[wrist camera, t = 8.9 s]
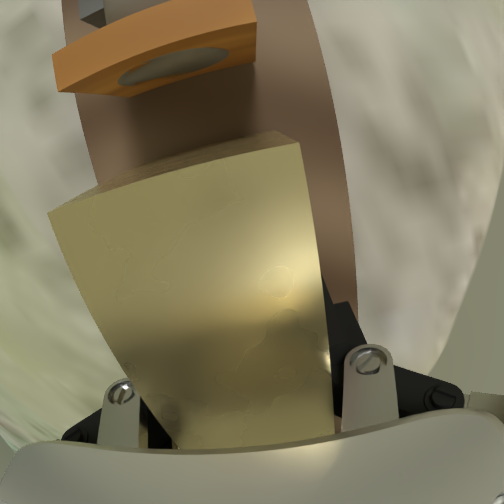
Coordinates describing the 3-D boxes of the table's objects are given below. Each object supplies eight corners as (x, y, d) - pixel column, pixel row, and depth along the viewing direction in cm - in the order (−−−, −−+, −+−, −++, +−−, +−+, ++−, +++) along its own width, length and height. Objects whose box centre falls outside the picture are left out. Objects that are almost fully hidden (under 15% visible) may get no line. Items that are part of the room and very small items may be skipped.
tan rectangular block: (274, 130, 9) (299, 143, 4) (319, 401, 14) (335, 493, 9) (142, 163, 10) (46, 213, 5) (235, 413, 15) (230, 504, 10)
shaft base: (350, 436, 20) (366, 504, 14) (236, 453, 20) (233, 521, 15) (277, -55, 8) (292, -144, 2) (77, 5, 8) (-10, -31, 3)
